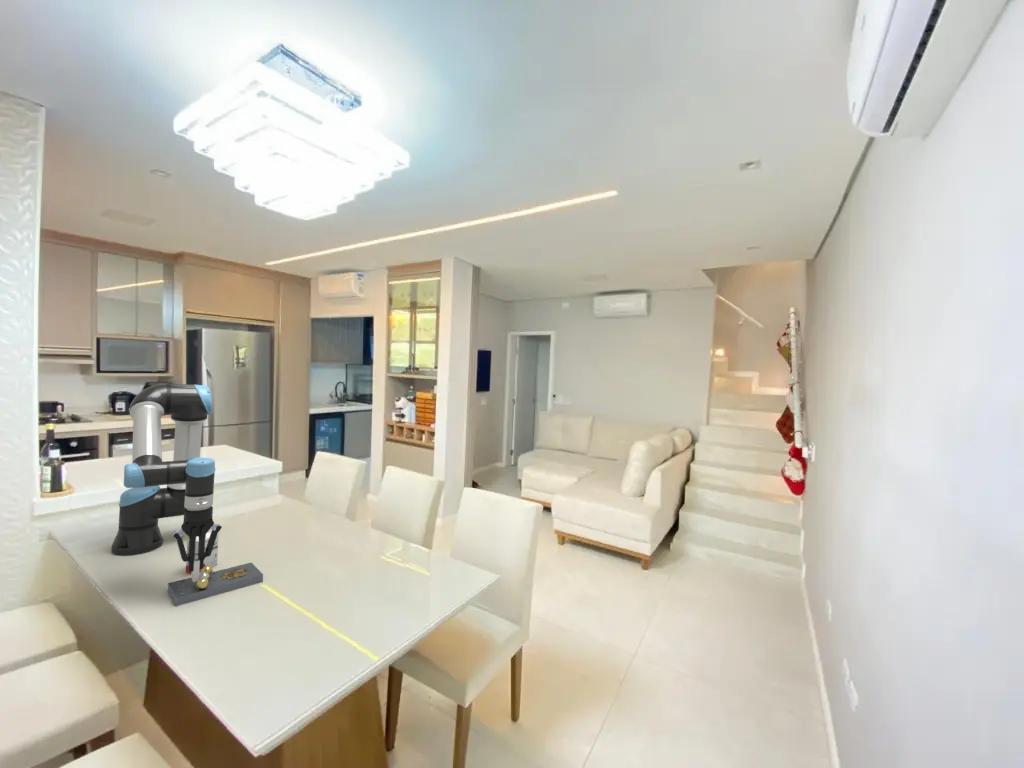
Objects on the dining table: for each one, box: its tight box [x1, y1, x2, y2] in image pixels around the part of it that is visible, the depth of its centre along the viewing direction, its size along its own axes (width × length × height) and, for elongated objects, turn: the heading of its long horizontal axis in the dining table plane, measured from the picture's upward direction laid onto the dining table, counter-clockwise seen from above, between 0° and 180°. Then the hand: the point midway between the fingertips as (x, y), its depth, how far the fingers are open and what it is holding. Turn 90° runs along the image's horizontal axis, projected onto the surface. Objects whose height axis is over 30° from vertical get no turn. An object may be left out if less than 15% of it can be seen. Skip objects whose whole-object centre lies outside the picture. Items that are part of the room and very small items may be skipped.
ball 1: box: [200, 566, 214, 575], centre depth 146 cm, size 3×3×3 cm
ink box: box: [185, 531, 219, 574], centre depth 155 cm, size 9×5×12 cm, turn 168°
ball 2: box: [196, 578, 209, 589], centre depth 138 cm, size 3×3×3 cm
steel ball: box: [199, 572, 210, 580], centre depth 142 cm, size 3×3×3 cm
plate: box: [167, 561, 264, 607], centre depth 145 cm, size 24×12×2 cm, turn 137°
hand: (195, 579), depth 140 cm, fingers closed
